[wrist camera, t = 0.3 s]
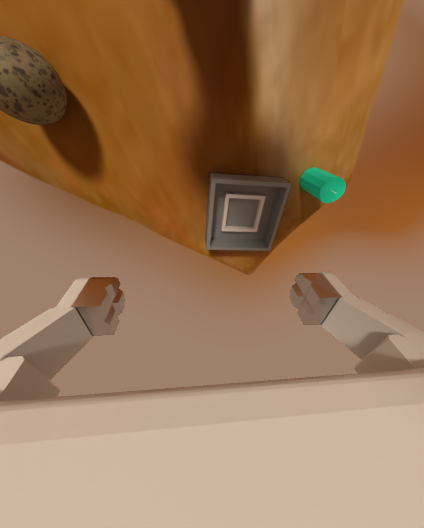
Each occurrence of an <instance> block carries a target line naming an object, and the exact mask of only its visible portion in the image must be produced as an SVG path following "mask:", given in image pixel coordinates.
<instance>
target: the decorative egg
mask: <svg viewBox="0 0 424 528" xmlns="http://www.w3.org/2000/svg"><path fill="white" fill-rule="evenodd" d="M66 108H67V94H66V90H65V87H64V85H63V82H62V80H61V79H60V77H59V75H58V74H57V72H56V71H55V69H54V68H53V67H52V66H51V64H50V63H49V62H48V61H47V60H46V59H45V58H44V57H43V56H42V55H40V54H39V53H38V52H37V51H35V50H34V49H33V48H31V47H29V46H28V45H26V44H24V43H22V42H20V41H18V40H15V39H12V38H8V37H4V36H0V110H1V111H3V112H5V113H6V114H8V115H10V116H12V117H14V118H16V119H18V120H21V121H24V122H27V123H31V124H37V125H47V124H52V123H55V122H57V121H58V120H60V119H61V118H62V117H63V115H64V114H65V111H66Z"/></svg>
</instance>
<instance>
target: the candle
mask: <svg viewBox="0 0 424 528" xmlns="http://www.w3.org/2000/svg"><path fill="white" fill-rule="evenodd" d="M300 186H301V188H302V189H304V190H305V191H307V192H308V193H310V194H311V195H313V196H314V197H316V198H317V199H319V200H320V201H322V202H324V203H331V202H333V201H335V200H337V199H338V198H340V197H341V196H342V195H343V194H344V191H345V187H346V185H345V181H344V180H343V179H341V178H340V177H338V176H335V175H333V174H330V173H328V172H326V171H323V170H321V169H318V168H310V169H308V170H306V171H305V172H304V173H303V175H302V176H301V178H300Z"/></svg>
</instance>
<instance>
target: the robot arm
mask: <svg viewBox="0 0 424 528" xmlns="http://www.w3.org/2000/svg"><path fill="white" fill-rule="evenodd" d="M295 281H296V284H294V285H293V286H292V288H291V290H290V299H291V302H292V304H293V305H294V306H295V307H296V308H298V315H299V317H300V319H301V321H302V322H303V324H304V325H322V326H323V327H324V328H325V329H326V330H327V331H329V332H330V333H331V334H332V335H333V336H334V337H336V338H337V339H338V340H339V341H341V342H342V343H343V344H344V345H345V346H346V347H347V348H349V349H350V350H351V351H352V352H353V353H354V354H356V355H357V356H358V357H359V358H360V359H362V360H361V361H360V362H359V363H358V364H357V365H356V366H355V370H356V372H357V373H358V374H346V375H332V376H319V377H306V378H295V379H282V380H281V379H280V380H268V381H255V382H242V383H229V384H218V385H217V384H216V385H203V386H191V387H178V388H166V389H152V390H140V391H126V392H113V393H101V394H88V395H75V396H62V397H57V396H58V394H59V392H60V390H59V388H58V387H57V386H56V385H55V384H54V383H52V382H51V381H50V380H51V379H52V378H53V377H54V376H55V375H56V373H58V372H59V371H60V370H61V368H63V367H64V365H66V364H67V363H68V362H69V361H70V360H71V359H72V357H74V355H76V354H77V353H78V351H80V349H82V347H83V346H85V344H87V342H89V341H90V340H91V338H93V337H92V336H101V335H114V334H115V331H116V328H117V325H118V323H119V319H118V317H117V316H118V315H119V314H120V313H122V311H123V308H124V302H125V299H124V294H123V291H121V290H120V289H119V286H120V282H119V280H118V278H115V277H110V278H109V277H98V278H97V277H92V278H78V279H76V280H75V281H74V283H73V284H72V285H71V287H70V288H69V290H68V291H67V292H66V294H65V295H64V296H63V298H62V299H61V301H60V302H59V304H58V305H57V306H56V308H51V309H49V310H47V311H46V312H44V313H43V314H41V315H39V316H37V317H36V318H34V319H33V320H31V321H29V322H28V323H26V324H24V325H23V326H21V327H19V328H18V329H16V330H15V331H13V332H11V333H10V334H8V335H6V336H5V337H3V338H1V339H0V528H424V332H422V331H420V330H418V329H416V328H415V327H413V326H411V325H409V324H407V323H405V322H403V321H402V320H400V319H398V318H396V317H394V316H392V315H390V314H388V313H386V312H385V311H383V310H381V309H379V308H377V307H375V306H373V305H372V304H370V303H368V302H366V301H364V300H362V299H360V298H358V297H354V296H353V295H352V294H351V293H350V292H349V291H348V290H347V288H346V287H345V286H344V285H343V284H342V283H341V282H340V281H339V280H338V279H337V277H336V276H335V275H334V274H333V273H330V272H324V273H323V272H322V273H299V274H298V275H297V276H296V278H295Z"/></svg>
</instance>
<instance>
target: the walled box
mask: <svg viewBox="0 0 424 528" xmlns="http://www.w3.org/2000/svg"><path fill="white" fill-rule="evenodd" d="M291 186H292V183H291V182H289V181H288V180H286V179H285V178H283V177H270V176H255V175H241V174H226V173H211V172H210V177H209V191H208V206H207V220H206V235H205V242H206V250H247V251H271V248H272V245H273V242H274V239H275V235H276V232H277V229H278V226H279V223H280V220H281V217H282V214H283V211H284V208H285V204H286V201H287V198H288V195H289V192H290V189H291Z"/></svg>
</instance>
